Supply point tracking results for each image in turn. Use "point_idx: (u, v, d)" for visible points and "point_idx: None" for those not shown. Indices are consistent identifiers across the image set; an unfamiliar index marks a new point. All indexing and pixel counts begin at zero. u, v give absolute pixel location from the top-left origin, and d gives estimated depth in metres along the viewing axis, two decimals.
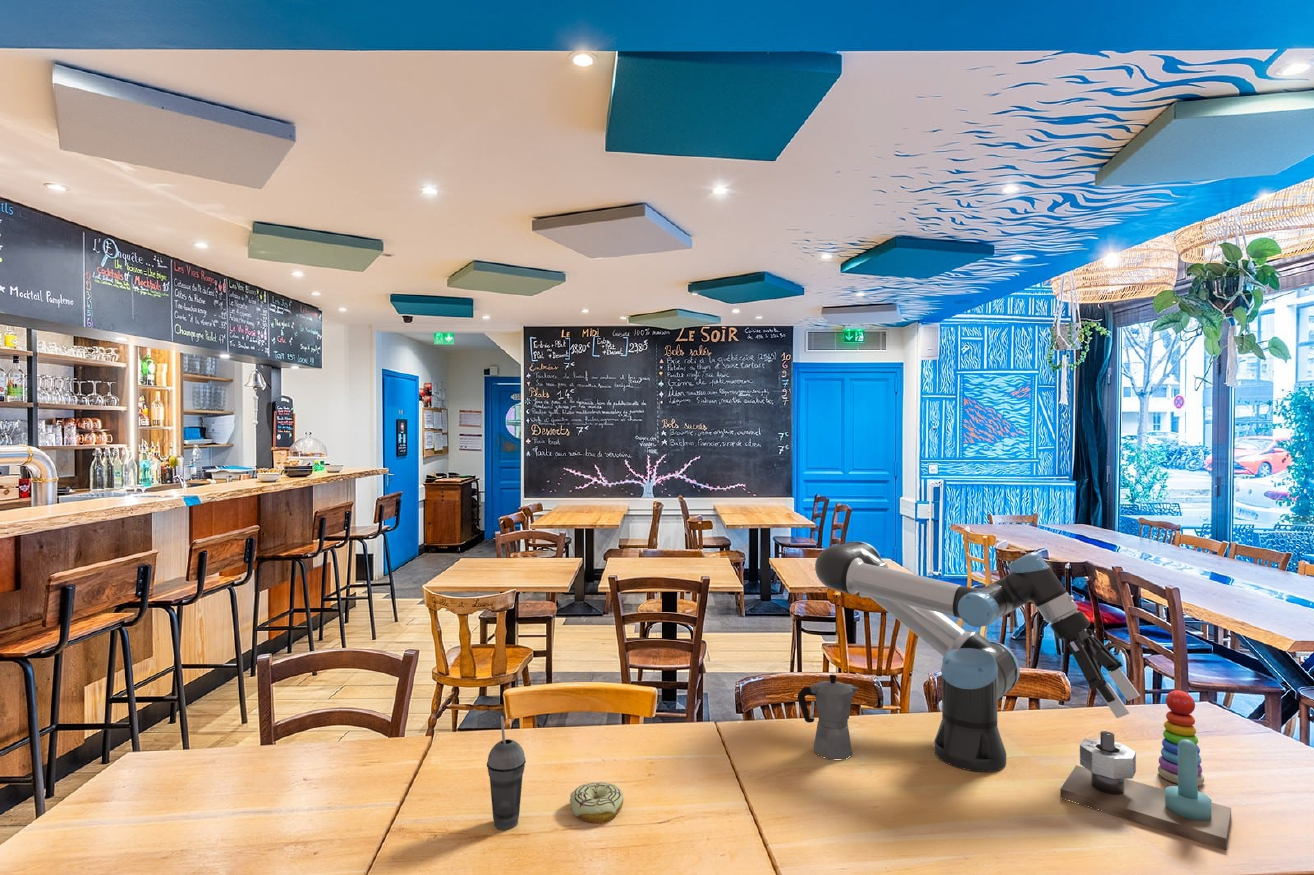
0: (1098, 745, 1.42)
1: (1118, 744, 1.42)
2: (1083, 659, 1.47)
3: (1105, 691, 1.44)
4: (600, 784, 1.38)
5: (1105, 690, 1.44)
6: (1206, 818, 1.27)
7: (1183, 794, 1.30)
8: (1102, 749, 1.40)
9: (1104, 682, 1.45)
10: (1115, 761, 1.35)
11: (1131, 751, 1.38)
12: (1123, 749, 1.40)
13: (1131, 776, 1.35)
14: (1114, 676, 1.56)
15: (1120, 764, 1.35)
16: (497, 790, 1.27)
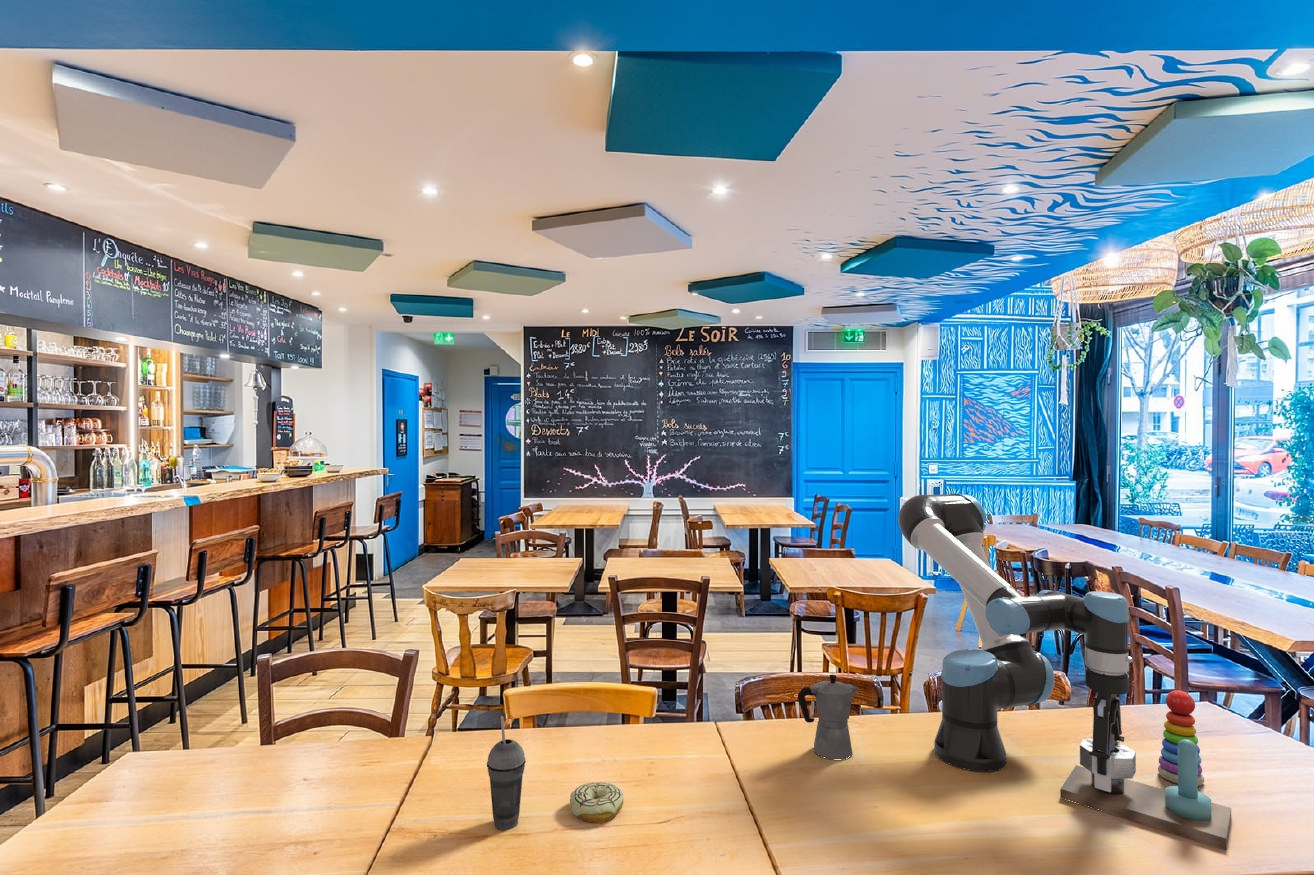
0: None
1: (1118, 744, 1.42)
2: (1101, 728, 1.35)
3: (1103, 764, 1.35)
4: (600, 784, 1.38)
5: (1103, 763, 1.35)
6: (1206, 818, 1.27)
7: (1183, 794, 1.30)
8: None
9: (1108, 758, 1.34)
10: (1115, 761, 1.35)
11: (1130, 751, 1.38)
12: (1123, 749, 1.40)
13: (1131, 776, 1.35)
14: None
15: (1120, 764, 1.35)
16: (497, 790, 1.27)
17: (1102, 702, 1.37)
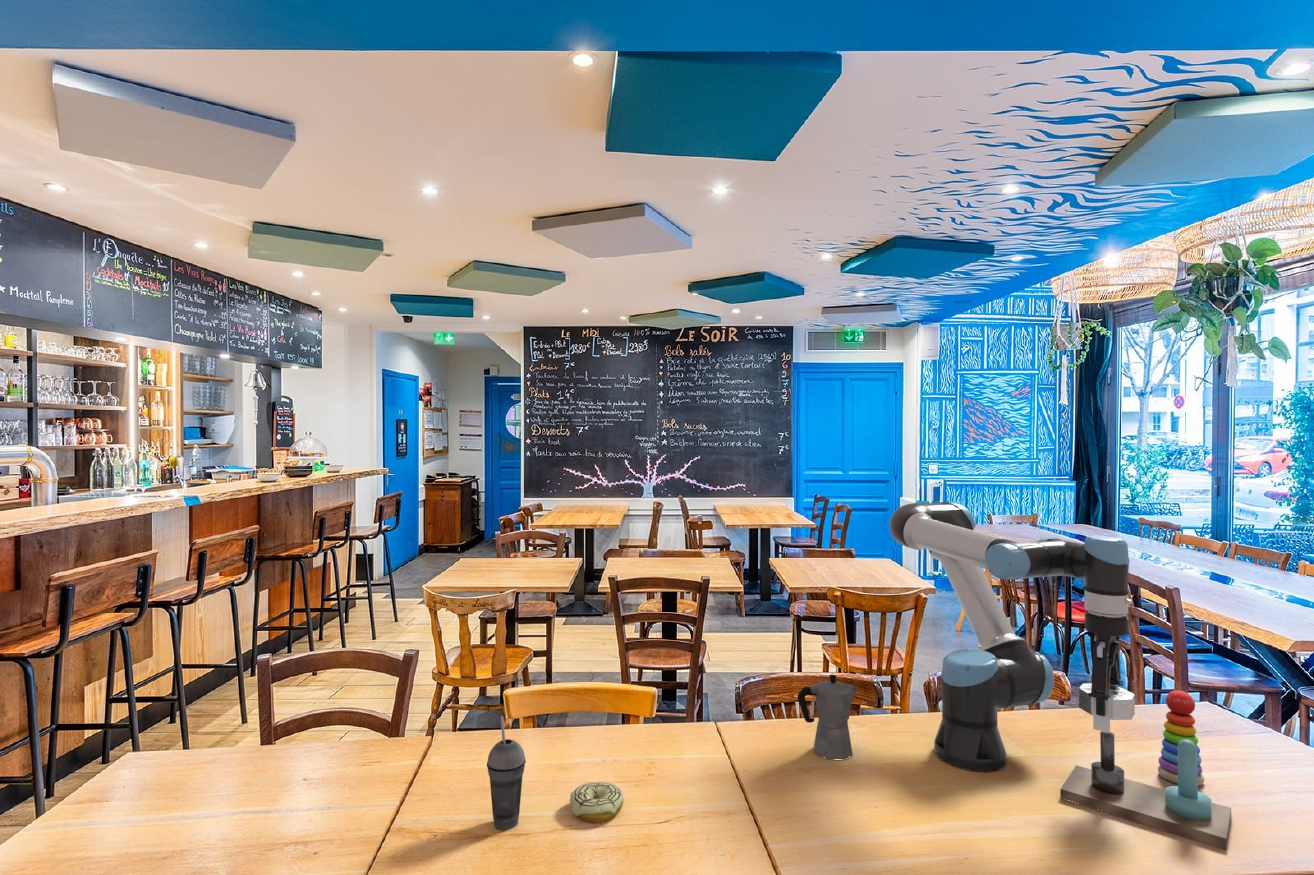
0: None
1: (1117, 688, 1.42)
2: (1100, 669, 1.35)
3: (1102, 705, 1.35)
4: (600, 784, 1.38)
5: (1102, 704, 1.35)
6: (1206, 818, 1.27)
7: (1183, 794, 1.30)
8: (1102, 749, 1.40)
9: (1107, 698, 1.35)
10: (1114, 702, 1.36)
11: (1130, 694, 1.39)
12: (1122, 691, 1.40)
13: (1130, 717, 1.36)
14: None
15: (1119, 705, 1.36)
16: (497, 790, 1.27)
17: (1101, 644, 1.37)
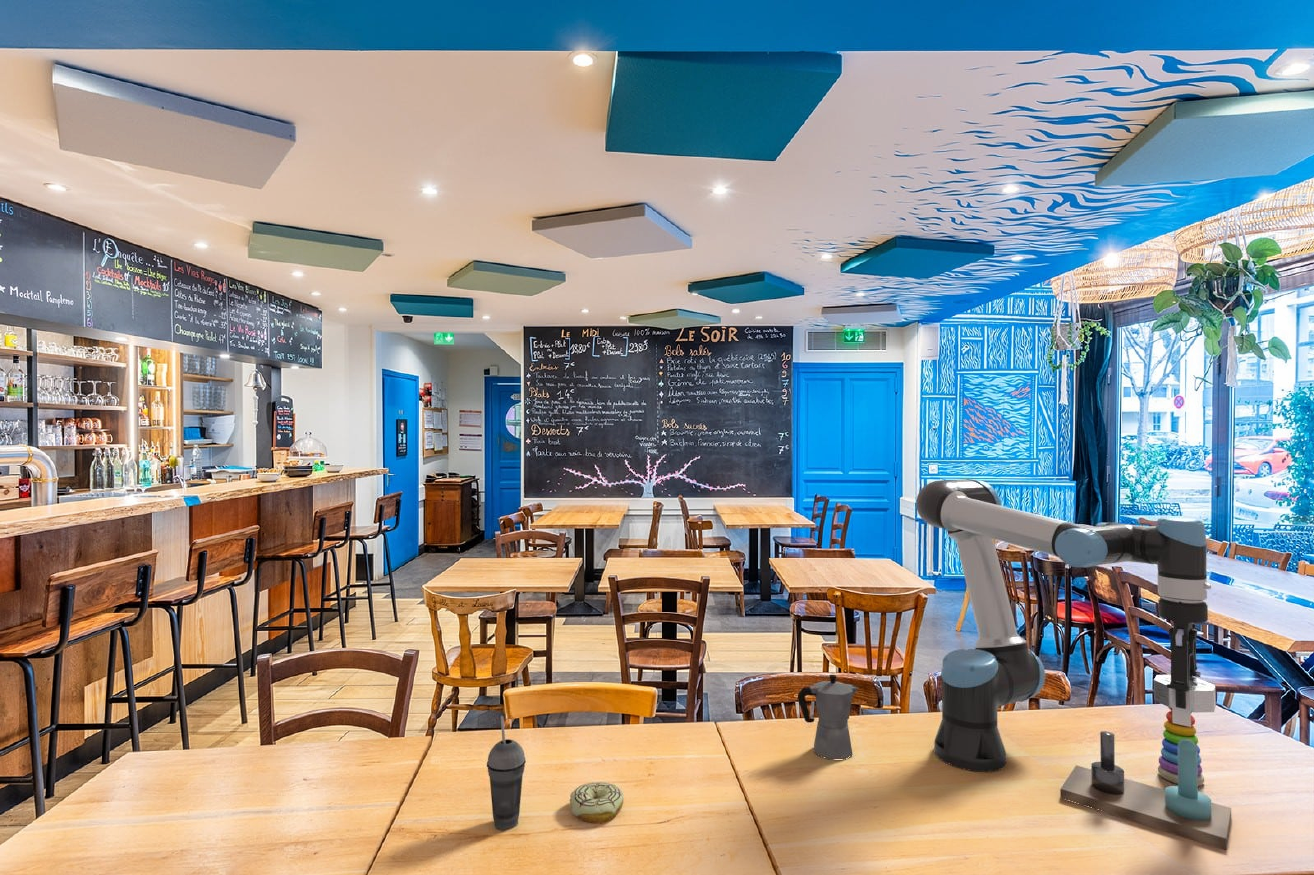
0: None
1: (1195, 679, 1.33)
2: (1180, 658, 1.26)
3: (1182, 697, 1.26)
4: (600, 784, 1.38)
5: (1183, 696, 1.26)
6: (1206, 818, 1.27)
7: (1183, 794, 1.30)
8: (1102, 749, 1.40)
9: (1188, 689, 1.26)
10: (1195, 693, 1.27)
11: (1210, 685, 1.30)
12: (1201, 683, 1.31)
13: (1212, 709, 1.27)
14: None
15: (1200, 697, 1.27)
16: (497, 790, 1.27)
17: (1179, 631, 1.28)
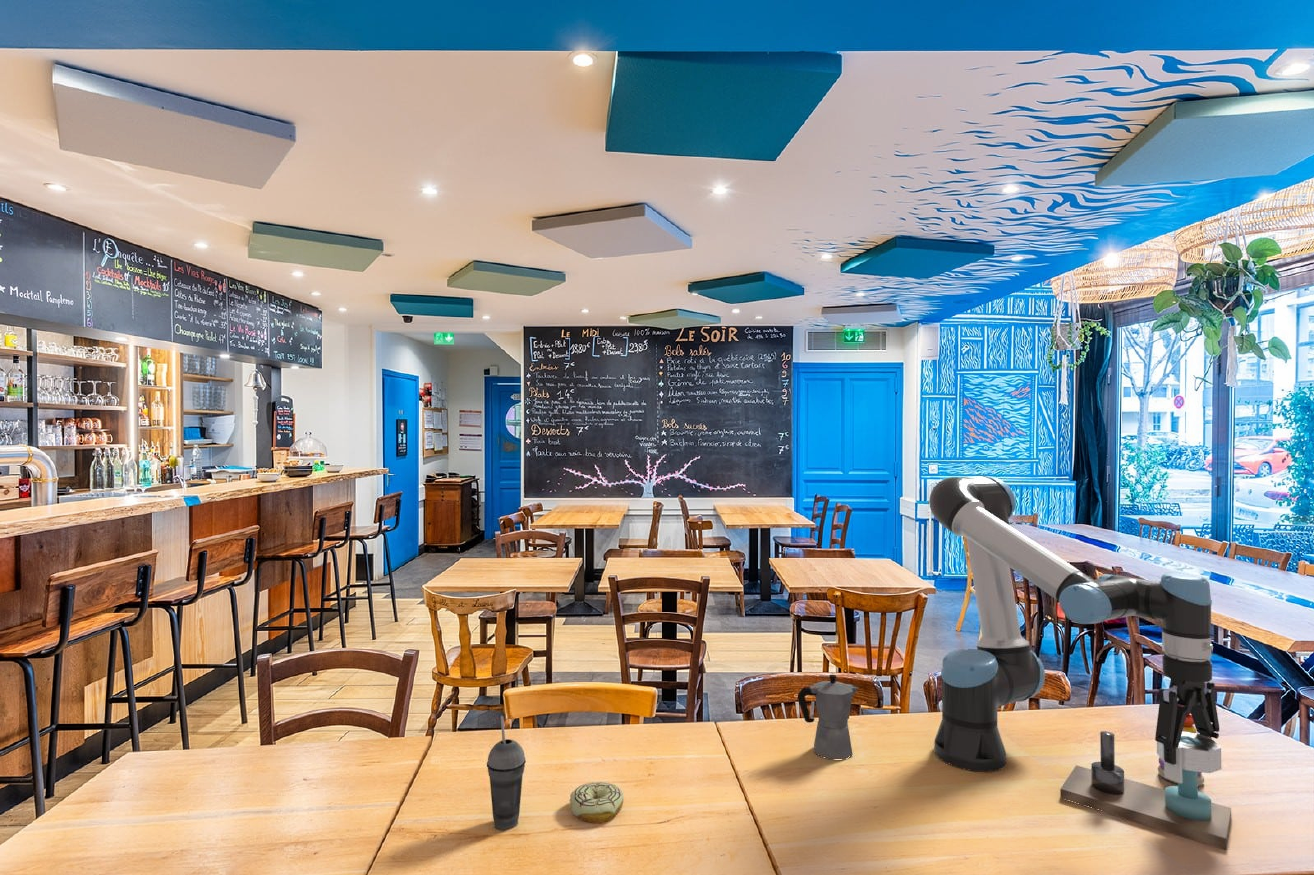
0: (1181, 737, 1.33)
1: (1207, 739, 1.31)
2: (1166, 713, 1.28)
3: (1169, 752, 1.28)
4: (600, 784, 1.38)
5: (1170, 751, 1.28)
6: (1206, 818, 1.27)
7: (1183, 794, 1.30)
8: (1102, 749, 1.40)
9: (1175, 746, 1.27)
10: (1186, 751, 1.27)
11: (1215, 746, 1.28)
12: (1208, 743, 1.30)
13: (1208, 770, 1.26)
14: None
15: (1193, 755, 1.27)
16: (497, 790, 1.27)
17: (1173, 688, 1.29)
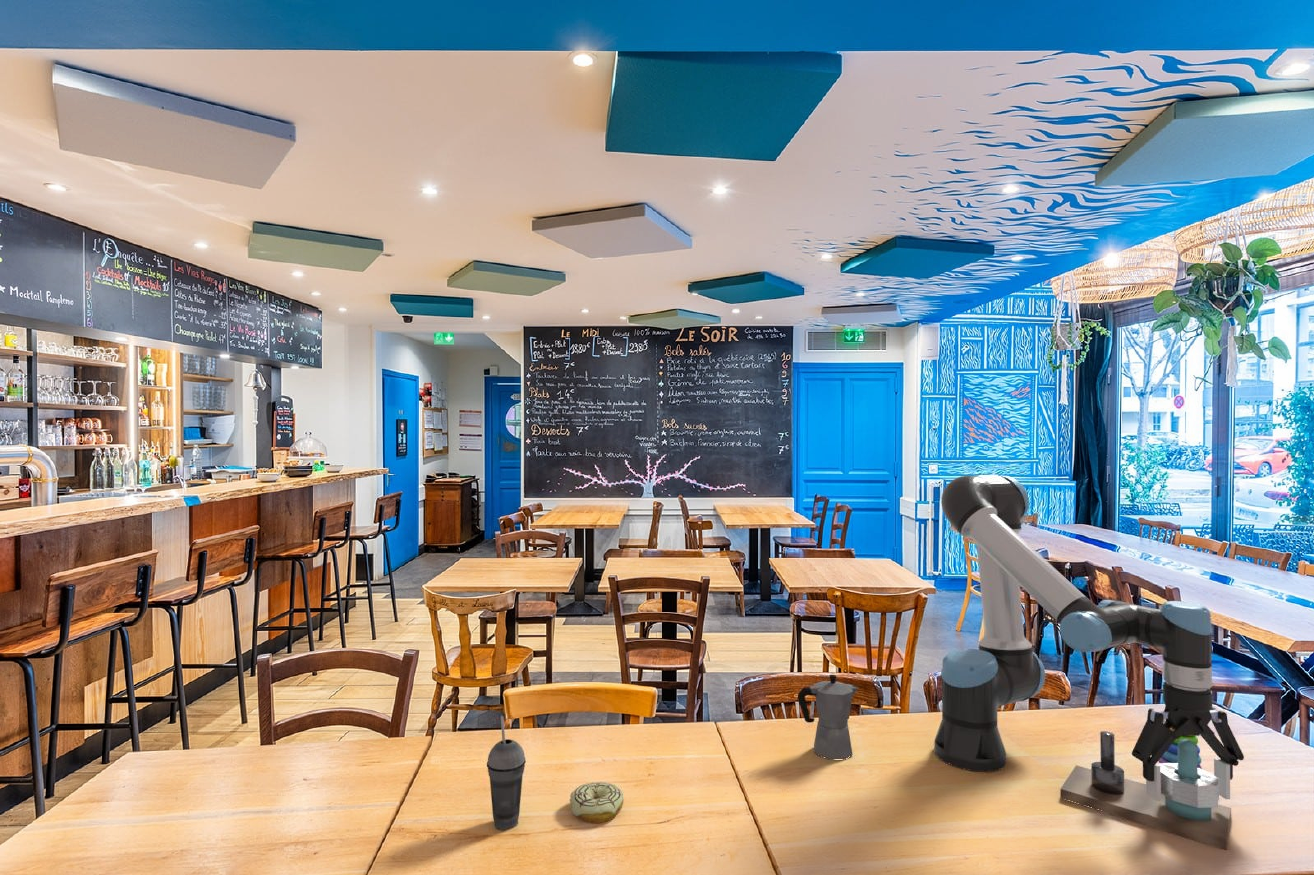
0: None
1: (1212, 777, 1.30)
2: (1148, 731, 1.31)
3: (1146, 769, 1.30)
4: (600, 784, 1.38)
5: (1147, 768, 1.30)
6: (1206, 818, 1.27)
7: None
8: (1102, 749, 1.40)
9: (1151, 762, 1.29)
10: (1174, 782, 1.29)
11: (1211, 783, 1.27)
12: (1207, 780, 1.29)
13: (1196, 804, 1.27)
14: (1217, 765, 1.32)
15: (1181, 787, 1.28)
16: (497, 790, 1.27)
17: (1165, 712, 1.31)
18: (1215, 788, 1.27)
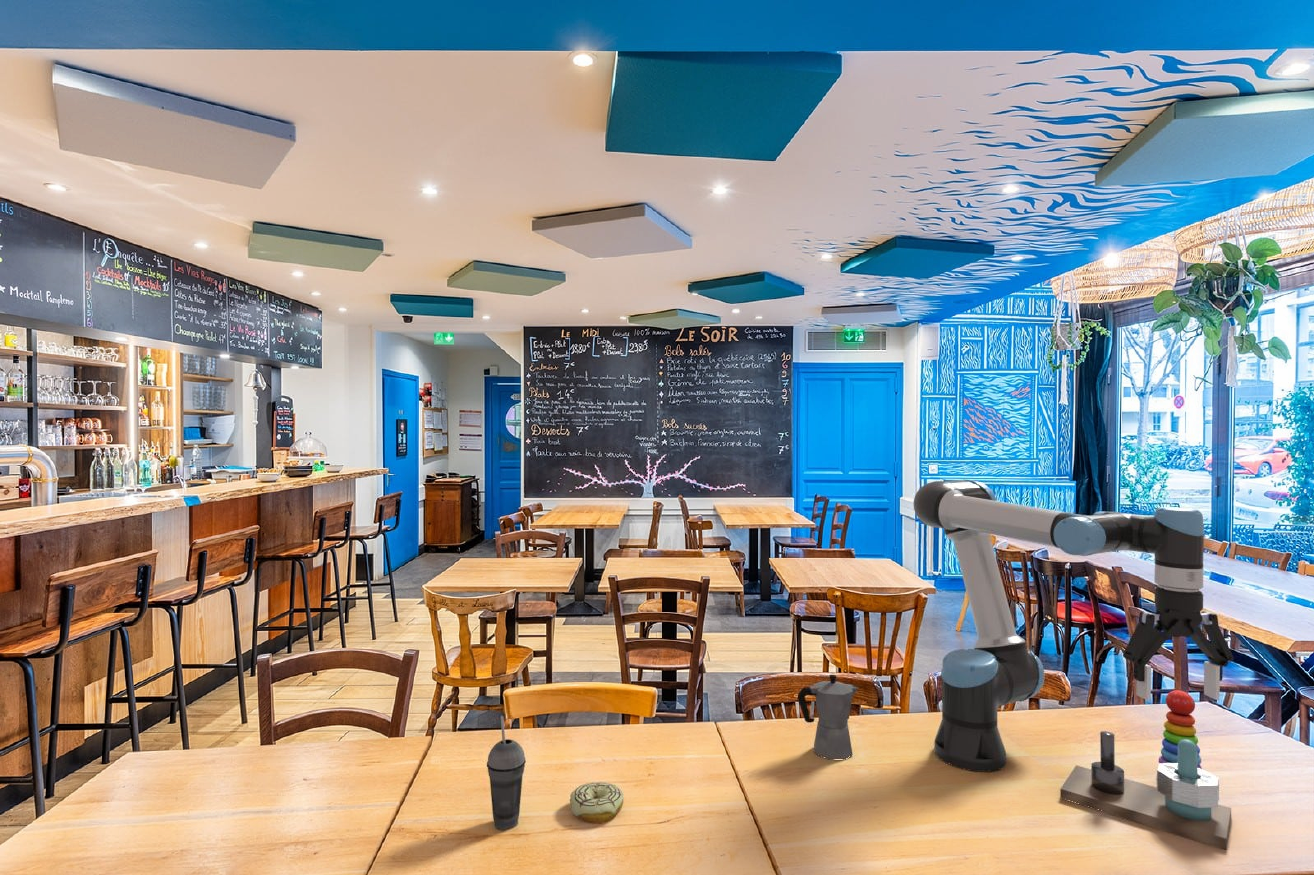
0: None
1: (1212, 777, 1.30)
2: (1139, 633, 1.32)
3: (1137, 669, 1.32)
4: (600, 784, 1.38)
5: (1137, 669, 1.32)
6: (1206, 818, 1.27)
7: None
8: (1102, 749, 1.40)
9: (1141, 663, 1.31)
10: (1174, 782, 1.29)
11: (1211, 783, 1.27)
12: (1207, 780, 1.29)
13: (1196, 804, 1.27)
14: (1207, 668, 1.33)
15: (1181, 787, 1.28)
16: (497, 790, 1.27)
17: (1156, 614, 1.33)
18: (1215, 788, 1.27)
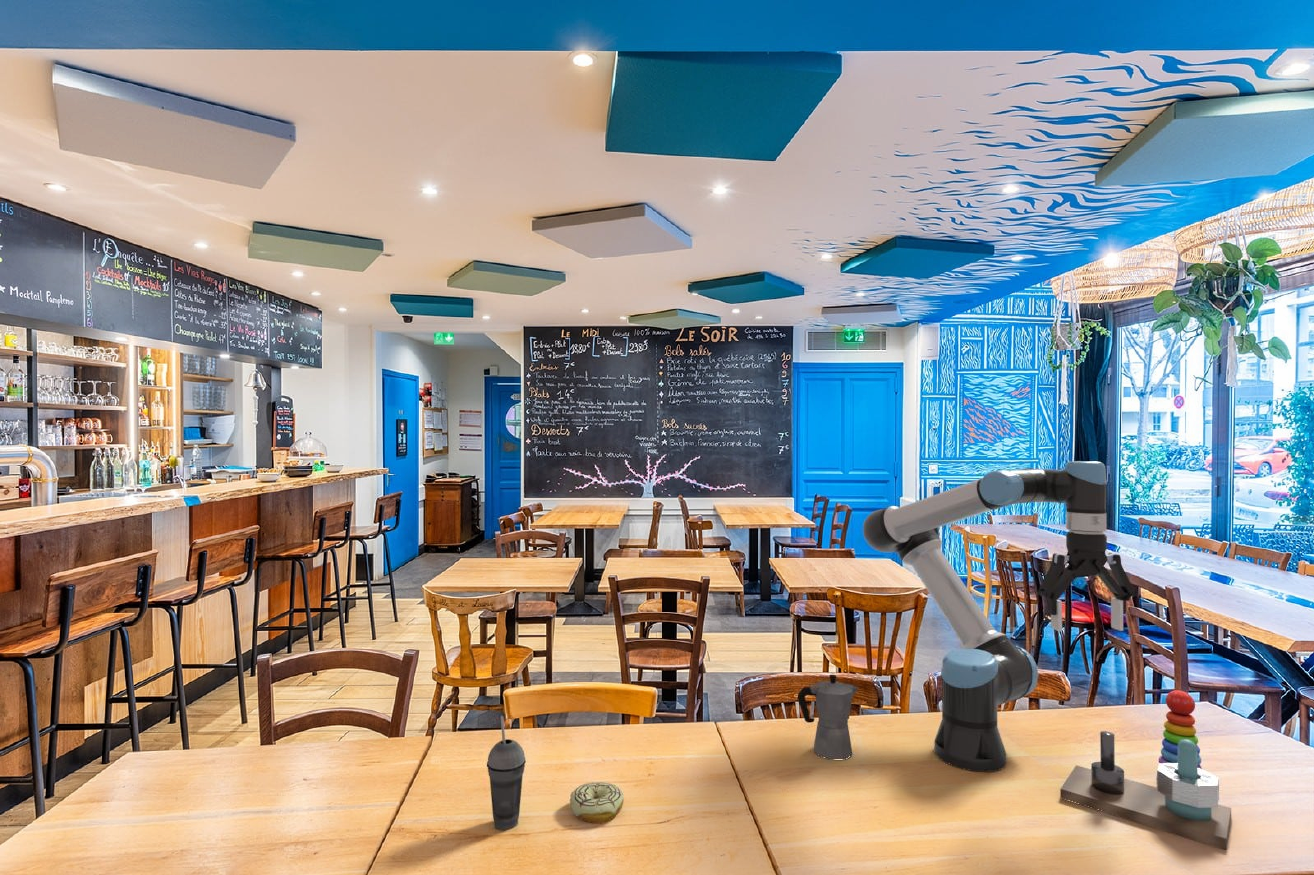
0: None
1: (1212, 777, 1.30)
2: (1051, 572, 1.49)
3: (1050, 604, 1.49)
4: (600, 784, 1.38)
5: (1050, 604, 1.49)
6: (1206, 818, 1.27)
7: None
8: (1102, 749, 1.40)
9: (1053, 598, 1.48)
10: (1174, 782, 1.29)
11: (1211, 783, 1.27)
12: (1207, 780, 1.29)
13: (1196, 804, 1.27)
14: (1113, 603, 1.50)
15: (1181, 787, 1.28)
16: (497, 790, 1.27)
17: (1067, 555, 1.49)
18: (1215, 788, 1.27)
